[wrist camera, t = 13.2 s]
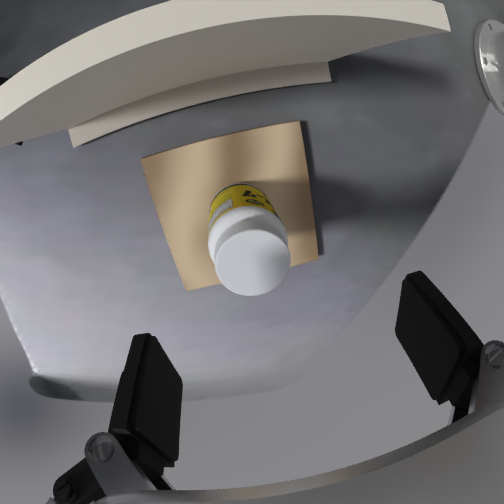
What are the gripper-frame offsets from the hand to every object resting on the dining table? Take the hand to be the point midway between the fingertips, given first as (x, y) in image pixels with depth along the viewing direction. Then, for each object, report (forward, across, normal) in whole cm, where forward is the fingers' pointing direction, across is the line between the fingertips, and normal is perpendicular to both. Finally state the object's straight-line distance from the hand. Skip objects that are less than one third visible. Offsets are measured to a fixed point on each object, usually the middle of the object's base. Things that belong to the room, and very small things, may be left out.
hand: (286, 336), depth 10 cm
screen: (+15, +2, -10) cm, 18 cm away
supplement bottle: (+14, +1, 0) cm, 14 cm away
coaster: (+15, +1, 0) cm, 15 cm away
